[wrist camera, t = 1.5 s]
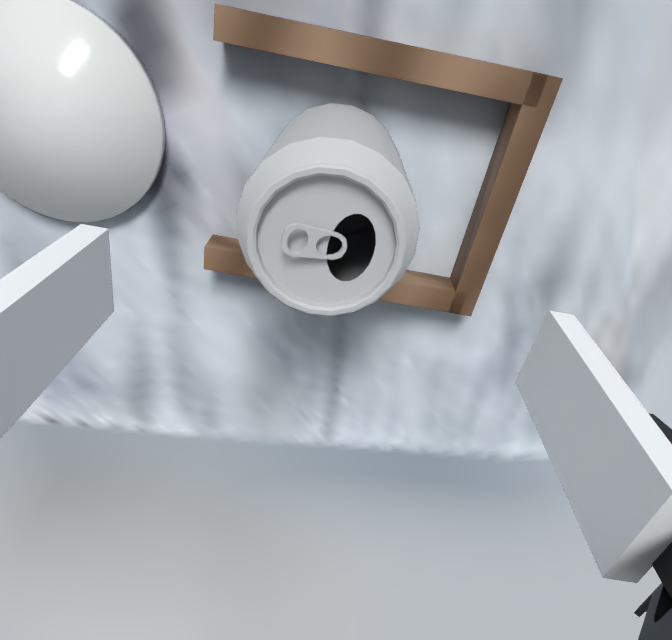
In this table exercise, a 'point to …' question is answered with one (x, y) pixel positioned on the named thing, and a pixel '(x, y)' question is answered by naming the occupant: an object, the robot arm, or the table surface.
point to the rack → (430, 69)
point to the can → (329, 213)
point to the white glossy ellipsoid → (74, 113)
